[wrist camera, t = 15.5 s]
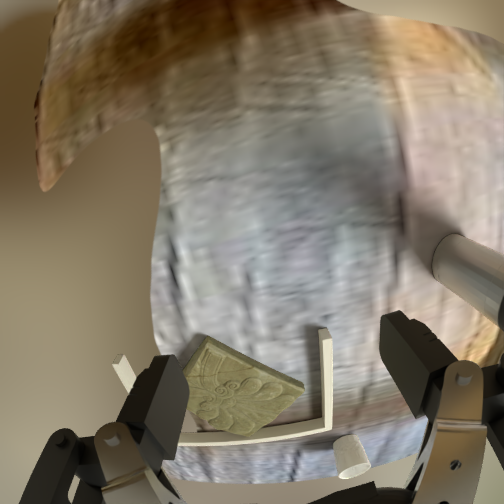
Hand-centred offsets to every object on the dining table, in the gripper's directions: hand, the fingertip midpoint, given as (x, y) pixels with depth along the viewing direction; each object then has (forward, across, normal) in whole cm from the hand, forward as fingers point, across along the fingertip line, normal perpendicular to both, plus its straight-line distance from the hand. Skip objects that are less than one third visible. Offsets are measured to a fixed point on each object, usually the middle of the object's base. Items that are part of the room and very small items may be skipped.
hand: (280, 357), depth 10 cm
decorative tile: (+29, +11, +30) cm, 43 cm away
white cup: (+29, -11, +57) cm, 65 cm away
